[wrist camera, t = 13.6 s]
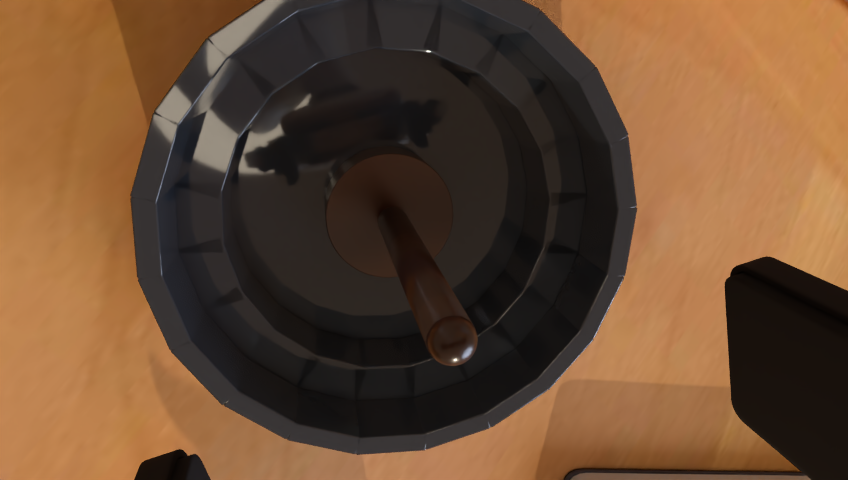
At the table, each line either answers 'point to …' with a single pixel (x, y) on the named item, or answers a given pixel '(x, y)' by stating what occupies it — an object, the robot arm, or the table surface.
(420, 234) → the plunger
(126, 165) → the table surface
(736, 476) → the notebook
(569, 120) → the bowl
